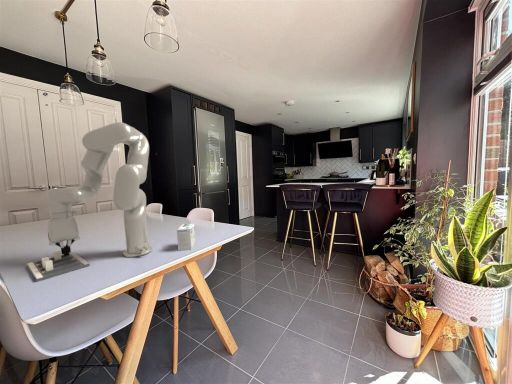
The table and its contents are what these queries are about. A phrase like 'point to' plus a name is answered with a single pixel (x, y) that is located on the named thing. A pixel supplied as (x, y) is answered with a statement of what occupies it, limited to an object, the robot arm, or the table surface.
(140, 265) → the table surface
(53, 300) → the table surface
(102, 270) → the table surface
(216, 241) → the table surface
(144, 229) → the robot arm
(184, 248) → the light bulb box
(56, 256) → the tab
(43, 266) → the tab
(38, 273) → the switch board
